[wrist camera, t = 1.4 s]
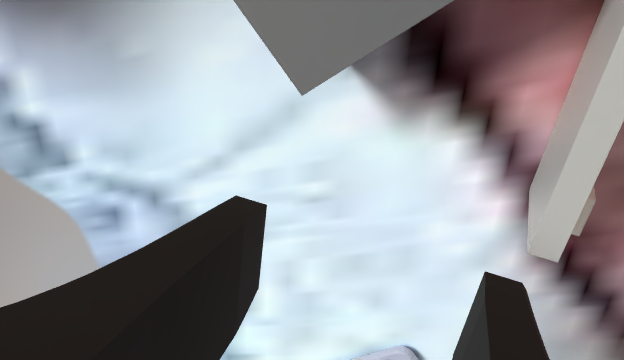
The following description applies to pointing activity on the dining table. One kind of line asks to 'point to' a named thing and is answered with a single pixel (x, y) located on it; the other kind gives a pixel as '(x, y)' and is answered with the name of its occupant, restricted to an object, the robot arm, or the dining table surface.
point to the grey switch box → (329, 31)
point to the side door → (580, 139)
